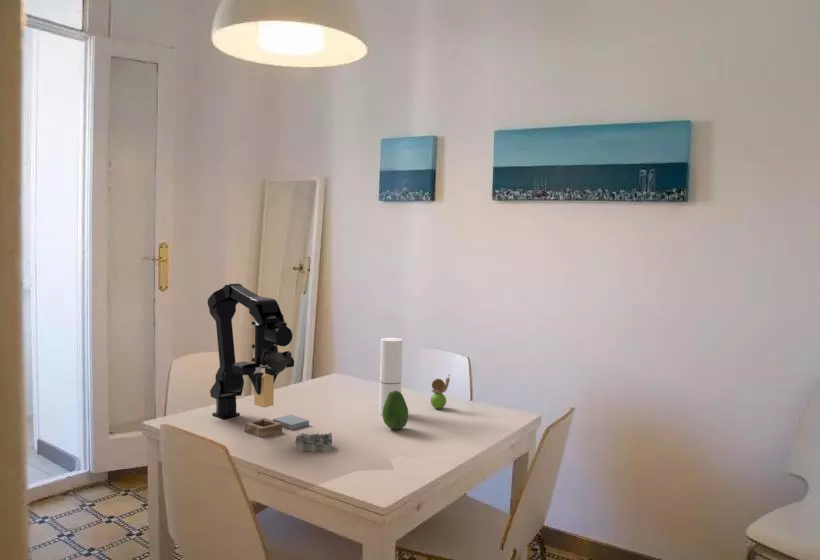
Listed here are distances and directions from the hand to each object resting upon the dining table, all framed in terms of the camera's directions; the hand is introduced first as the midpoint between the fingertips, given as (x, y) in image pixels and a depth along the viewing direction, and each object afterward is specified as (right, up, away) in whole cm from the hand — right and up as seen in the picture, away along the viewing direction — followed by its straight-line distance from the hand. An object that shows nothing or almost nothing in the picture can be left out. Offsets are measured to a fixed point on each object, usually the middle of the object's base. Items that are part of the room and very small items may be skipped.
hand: (263, 393), depth 199 cm
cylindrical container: (+37, -11, +25) cm, 46 cm away
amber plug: (0, -4, 0) cm, 4 cm away
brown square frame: (0, -12, +1) cm, 12 cm away
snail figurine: (+54, -11, +32) cm, 64 cm away
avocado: (+39, -13, +7) cm, 41 cm away
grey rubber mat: (+6, -11, +9) cm, 16 cm away
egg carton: (+17, -14, -12) cm, 25 cm away
